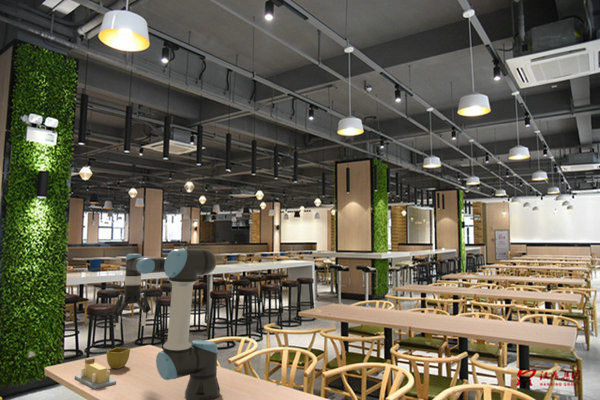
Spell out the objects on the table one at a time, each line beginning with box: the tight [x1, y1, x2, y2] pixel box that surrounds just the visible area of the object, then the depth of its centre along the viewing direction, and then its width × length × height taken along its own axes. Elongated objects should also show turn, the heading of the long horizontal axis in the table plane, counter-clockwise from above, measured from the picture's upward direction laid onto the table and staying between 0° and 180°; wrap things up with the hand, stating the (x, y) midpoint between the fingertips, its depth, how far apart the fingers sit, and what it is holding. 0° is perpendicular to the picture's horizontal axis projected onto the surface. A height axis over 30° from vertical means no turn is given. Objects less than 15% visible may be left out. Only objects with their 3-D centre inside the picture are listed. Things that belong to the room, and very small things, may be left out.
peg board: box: [74, 367, 117, 390], centre depth 199 cm, size 22×10×5 cm, turn 50°
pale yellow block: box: [84, 357, 108, 383], centre depth 199 cm, size 16×4×8 cm, turn 50°
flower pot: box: [106, 347, 131, 370], centre depth 221 cm, size 9×9×9 cm
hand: (130, 327), depth 206 cm, fingers open, 13 cm apart
